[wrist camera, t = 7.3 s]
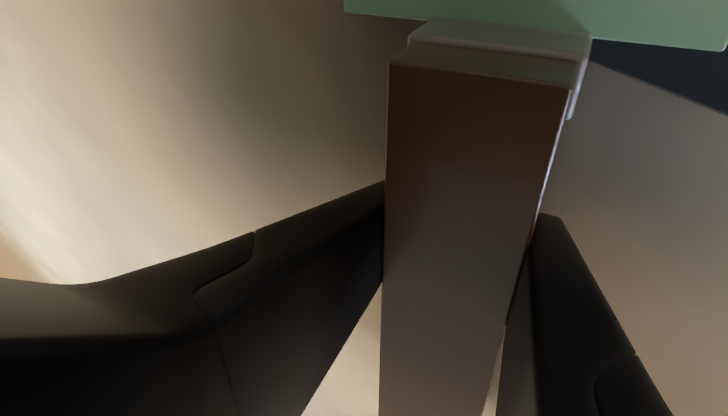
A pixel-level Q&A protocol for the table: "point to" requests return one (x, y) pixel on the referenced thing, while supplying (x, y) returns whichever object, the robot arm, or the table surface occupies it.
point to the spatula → (483, 169)
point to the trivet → (670, 69)
